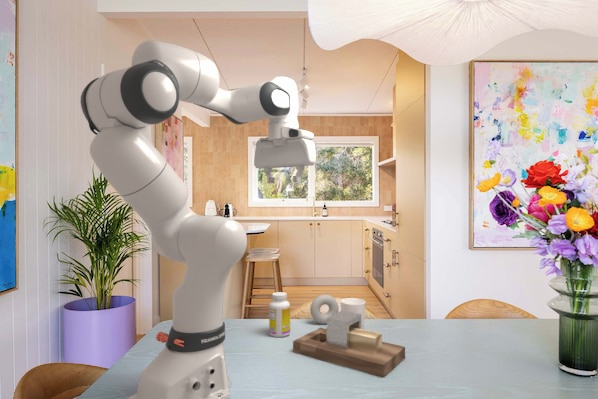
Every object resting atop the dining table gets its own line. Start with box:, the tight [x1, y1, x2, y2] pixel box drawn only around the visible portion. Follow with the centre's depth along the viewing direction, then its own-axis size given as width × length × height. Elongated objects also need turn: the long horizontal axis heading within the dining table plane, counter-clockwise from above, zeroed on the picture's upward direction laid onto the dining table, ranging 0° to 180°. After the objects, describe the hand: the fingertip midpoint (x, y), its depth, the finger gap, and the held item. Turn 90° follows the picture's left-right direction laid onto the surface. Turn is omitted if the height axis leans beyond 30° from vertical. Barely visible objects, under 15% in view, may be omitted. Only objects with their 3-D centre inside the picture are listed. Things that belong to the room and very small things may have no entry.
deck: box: [292, 327, 406, 378], centre depth 105 cm, size 14×27×3 cm, turn 54°
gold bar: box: [325, 327, 383, 354], centre depth 104 cm, size 4×14×4 cm, turn 54°
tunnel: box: [326, 310, 361, 350], centre depth 106 cm, size 8×6×8 cm
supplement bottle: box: [268, 291, 291, 338], centre depth 122 cm, size 7×7×13 cm
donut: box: [309, 294, 339, 325], centre depth 132 cm, size 10×4×10 cm, turn 102°
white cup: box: [340, 297, 366, 330], centre depth 123 cm, size 8×8×10 cm
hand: (283, 182), depth 112 cm, fingers open, 8 cm apart
